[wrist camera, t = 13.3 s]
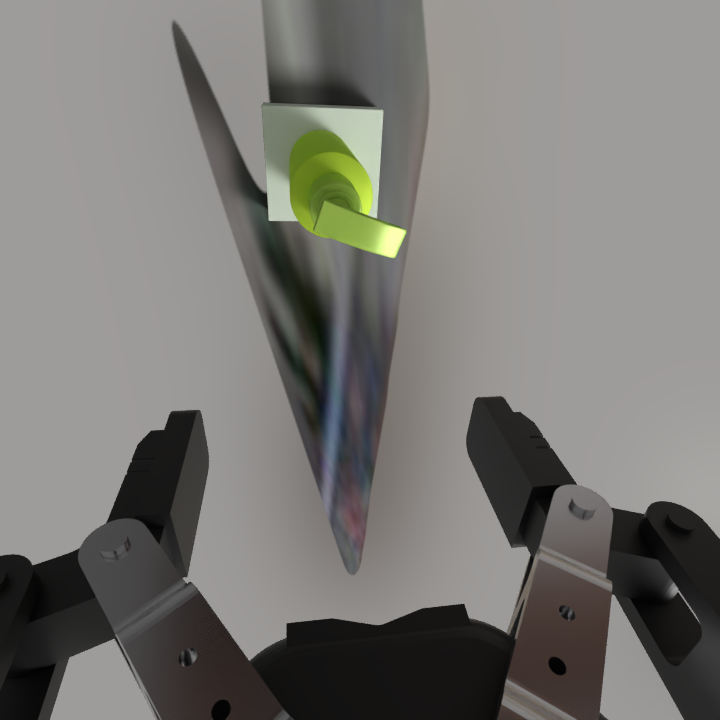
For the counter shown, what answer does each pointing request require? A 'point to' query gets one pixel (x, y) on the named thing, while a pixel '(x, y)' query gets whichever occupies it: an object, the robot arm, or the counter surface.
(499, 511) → the robot arm
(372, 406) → the counter surface
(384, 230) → the soap dispenser
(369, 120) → the plate
